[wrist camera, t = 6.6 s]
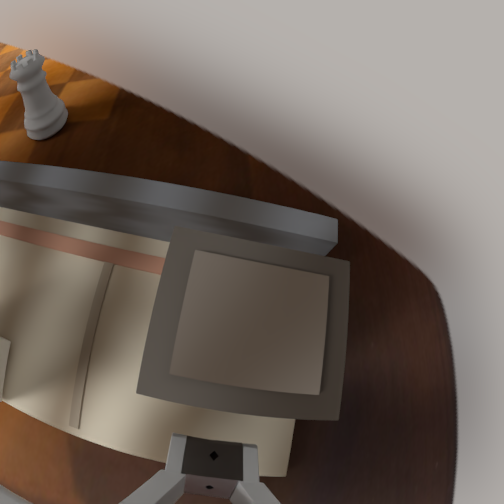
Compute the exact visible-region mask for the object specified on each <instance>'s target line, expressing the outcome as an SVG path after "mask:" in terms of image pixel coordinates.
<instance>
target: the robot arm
mask: <svg viewBox="0 0 504 504" xmlns="http://www.w3.org/2000/svg"><path fill="white" fill-rule="evenodd" d="M186 438H187V439H186ZM183 493H190V494H197V495H206V496H213V497H220V498H229V499H230V501H231V503H232V504H281V503H280V502H279V501H278V500H277V499H276V497H275V496H274V495H273V494H272V493H271V491H270V490H269V489H268V488H267V486H266V485H265V484H264V483H261V482H259V464H258V447H257V445H256V444H247V443H239V442H229V441H220V440H211V439H205V438H198V437H193V436H187V435H183V434H178V433H172V436H171V441H170V446H169V451H168V456H167V462H166V467H165V470H160V471H158V472H157V473H156V474H155V475H154V476H153V477H151V478H150V479H149V480H148V481H147V482H145V483H144V484H143V485H142V486H140V487H139V488H138V489H137V490H136V491H134V492H133V493H132V494H131V495H129V496H128V497H127V498H125V499H124V500H123V501H122V502H120V503H119V504H174V503H175V502H176V501H177V500H178V499H179V498H180V497H181V496H182V495H183ZM0 504H33V503H31V502H29V501H27V500H26V499H24V498H22V497H20V496H18V495H17V494H15V493H13V492H12V491H10V490H8V489H7V488H5V487H3V486H2V485H0Z"/></svg>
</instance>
